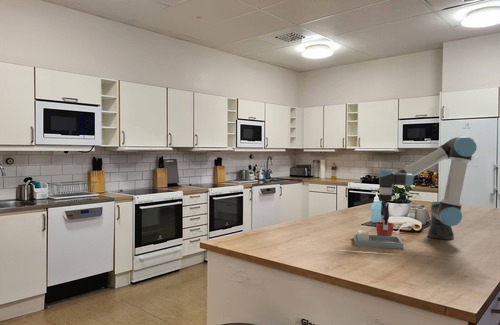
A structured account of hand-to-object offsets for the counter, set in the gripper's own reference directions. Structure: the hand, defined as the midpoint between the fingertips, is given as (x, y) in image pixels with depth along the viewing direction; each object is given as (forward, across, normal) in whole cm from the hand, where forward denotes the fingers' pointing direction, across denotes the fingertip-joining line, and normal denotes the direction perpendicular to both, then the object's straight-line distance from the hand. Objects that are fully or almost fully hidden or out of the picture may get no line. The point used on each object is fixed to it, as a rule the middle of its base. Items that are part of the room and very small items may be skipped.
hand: (384, 227), depth 231 cm
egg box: (+6, +17, -14) cm, 23 cm away
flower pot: (+7, 0, 0) cm, 7 cm away
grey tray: (+7, +17, -6) cm, 19 cm away
